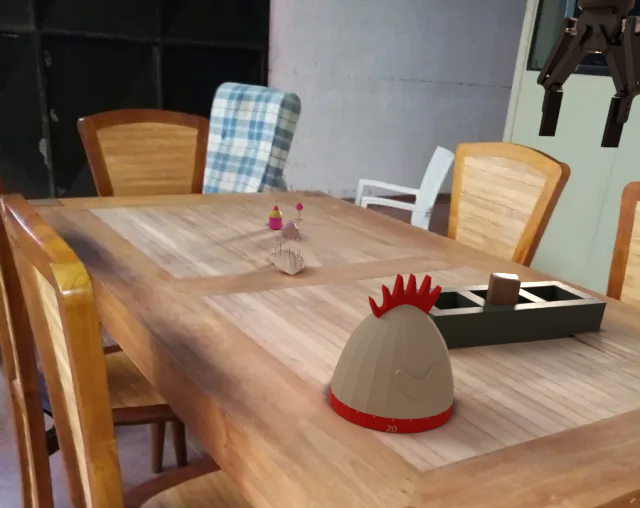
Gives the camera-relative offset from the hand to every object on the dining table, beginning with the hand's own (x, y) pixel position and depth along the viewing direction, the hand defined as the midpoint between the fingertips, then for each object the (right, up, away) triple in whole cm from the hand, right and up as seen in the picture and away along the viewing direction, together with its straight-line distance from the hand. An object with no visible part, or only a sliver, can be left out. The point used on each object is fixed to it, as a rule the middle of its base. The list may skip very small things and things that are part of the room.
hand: (576, 141), depth 108 cm
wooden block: (-13, -29, -1) cm, 31 cm away
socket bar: (-13, -29, -1) cm, 31 cm away
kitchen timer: (-31, -41, -27) cm, 58 cm away
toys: (-46, 0, +48) cm, 66 cm away
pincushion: (-45, -15, +20) cm, 52 cm away
